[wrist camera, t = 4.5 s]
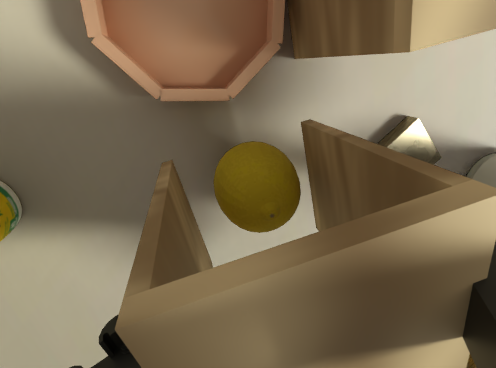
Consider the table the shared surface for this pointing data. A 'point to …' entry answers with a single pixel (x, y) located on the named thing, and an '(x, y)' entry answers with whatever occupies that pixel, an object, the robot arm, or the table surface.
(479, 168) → the energy drink can
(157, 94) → the saucer
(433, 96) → the table surface
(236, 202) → the lemon
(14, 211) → the supplement bottle
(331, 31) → the oak cover
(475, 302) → the robot arm
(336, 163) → the oak cover
